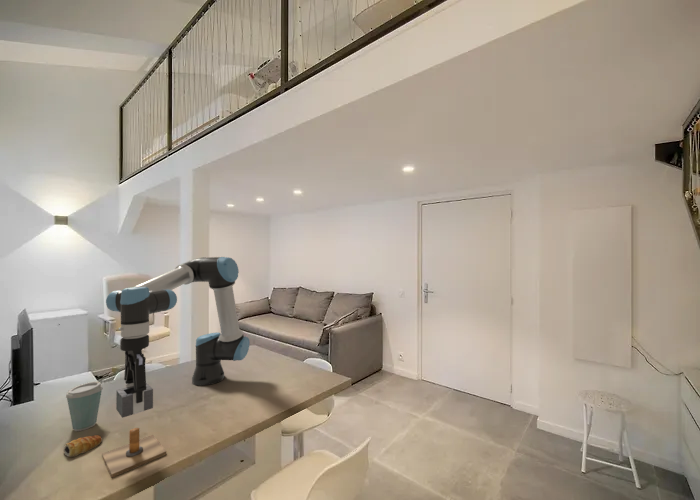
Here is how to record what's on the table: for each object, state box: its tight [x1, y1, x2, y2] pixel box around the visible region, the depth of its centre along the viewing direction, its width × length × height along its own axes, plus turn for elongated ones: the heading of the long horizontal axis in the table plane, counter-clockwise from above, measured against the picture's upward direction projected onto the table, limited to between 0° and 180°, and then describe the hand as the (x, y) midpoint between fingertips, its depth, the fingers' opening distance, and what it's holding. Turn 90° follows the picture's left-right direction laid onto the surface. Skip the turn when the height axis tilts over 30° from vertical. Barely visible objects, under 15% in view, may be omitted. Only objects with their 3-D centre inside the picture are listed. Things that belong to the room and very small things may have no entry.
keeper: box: [101, 427, 167, 478], centre depth 98 cm, size 14×14×8 cm
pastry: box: [63, 434, 103, 458], centre depth 102 cm, size 9×7×4 cm
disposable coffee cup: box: [65, 380, 103, 432], centre depth 116 cm, size 11×11×15 cm
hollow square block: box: [115, 382, 154, 419], centre depth 98 cm, size 8×8×6 cm
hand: (134, 407), depth 98 cm, fingers closed on hollow square block, 8 cm apart
